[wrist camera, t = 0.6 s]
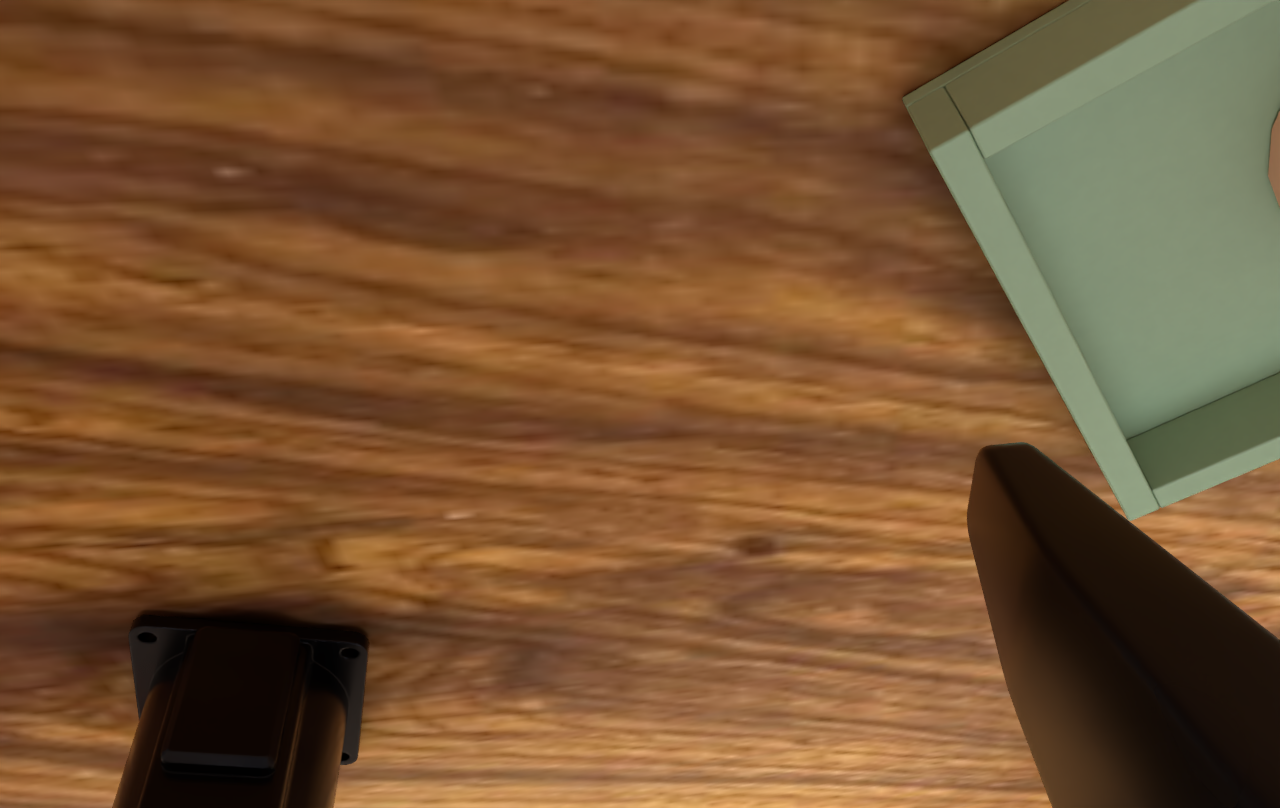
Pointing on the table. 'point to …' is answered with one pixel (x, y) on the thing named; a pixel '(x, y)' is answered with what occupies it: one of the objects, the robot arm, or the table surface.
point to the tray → (1132, 224)
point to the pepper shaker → (1275, 159)
